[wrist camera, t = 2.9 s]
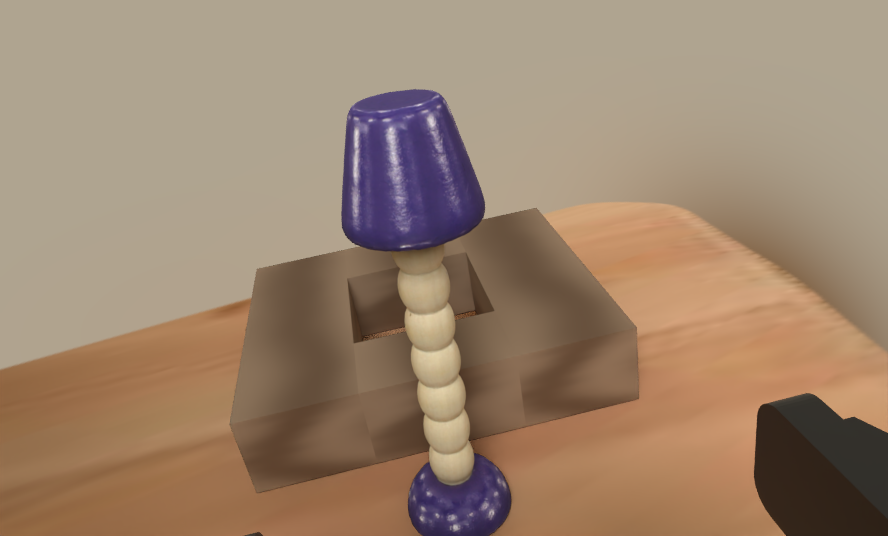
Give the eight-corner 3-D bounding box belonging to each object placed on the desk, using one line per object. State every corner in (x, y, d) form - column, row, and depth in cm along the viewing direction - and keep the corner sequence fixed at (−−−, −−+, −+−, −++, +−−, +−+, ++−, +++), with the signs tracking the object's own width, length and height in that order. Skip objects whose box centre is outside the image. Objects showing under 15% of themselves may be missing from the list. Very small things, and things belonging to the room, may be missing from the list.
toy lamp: (458, 445, 30) (386, 78, 23) (547, 484, 28) (499, 79, 20) (388, 518, 27) (277, 121, 20) (480, 570, 24) (392, 129, 17)
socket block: (256, 493, 30) (229, 424, 28) (274, 323, 43) (256, 268, 41) (638, 398, 31) (636, 327, 29) (541, 262, 44) (536, 207, 43)
